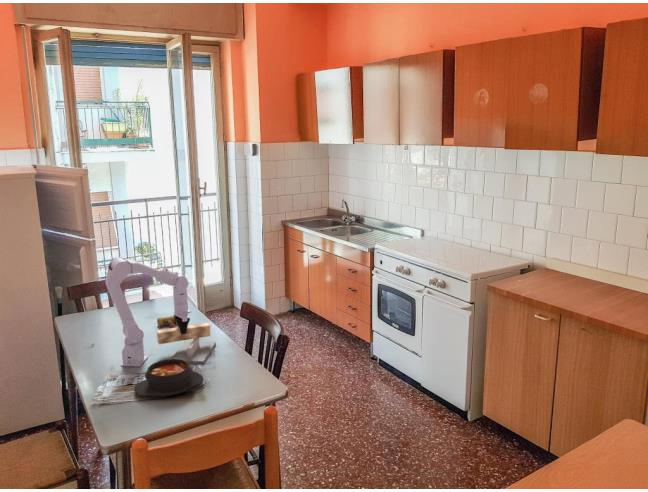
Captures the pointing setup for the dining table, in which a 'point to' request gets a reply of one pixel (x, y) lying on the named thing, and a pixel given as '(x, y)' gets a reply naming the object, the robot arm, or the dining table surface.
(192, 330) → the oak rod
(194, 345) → the fulcrum stand
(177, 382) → the casserole
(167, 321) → the gavel
